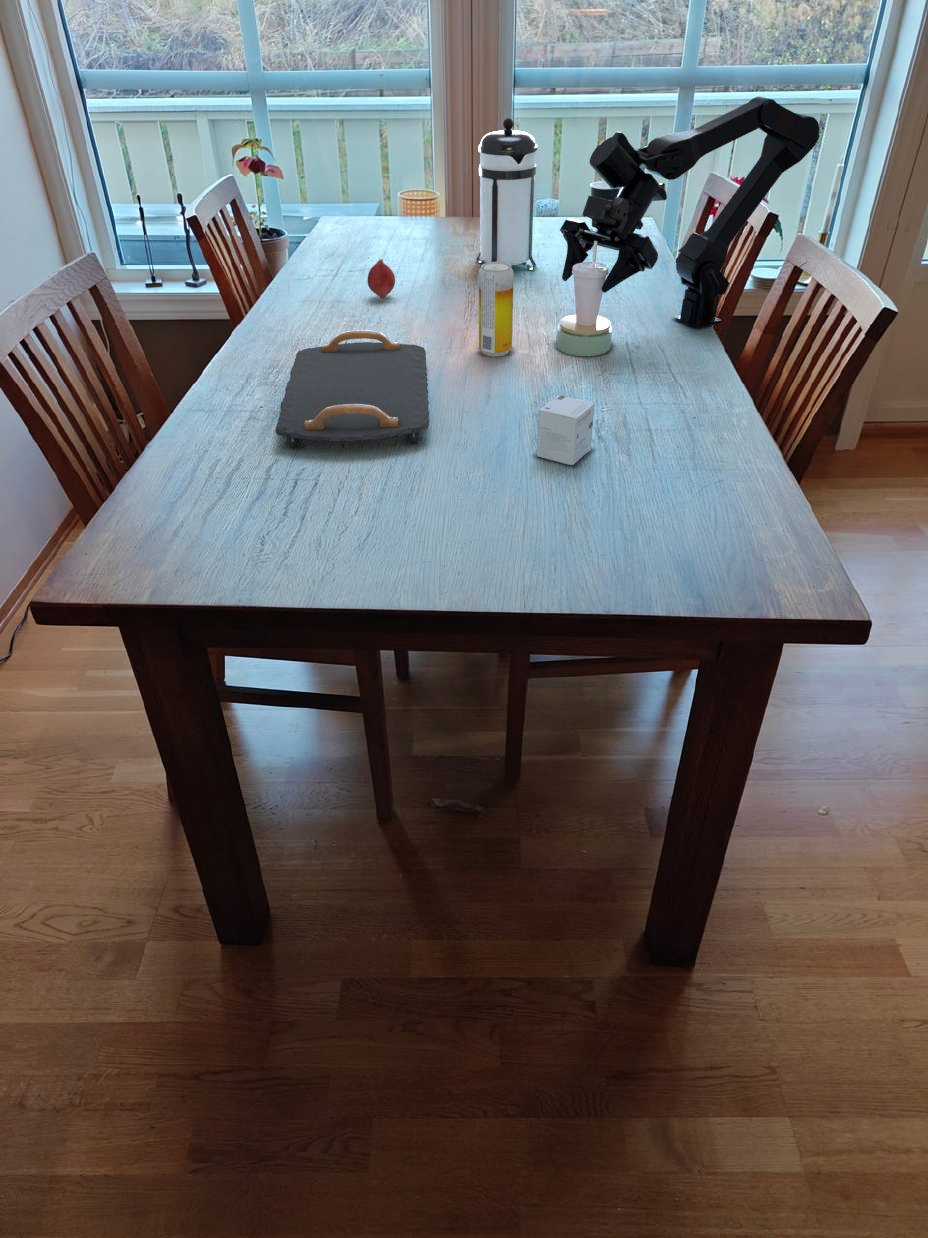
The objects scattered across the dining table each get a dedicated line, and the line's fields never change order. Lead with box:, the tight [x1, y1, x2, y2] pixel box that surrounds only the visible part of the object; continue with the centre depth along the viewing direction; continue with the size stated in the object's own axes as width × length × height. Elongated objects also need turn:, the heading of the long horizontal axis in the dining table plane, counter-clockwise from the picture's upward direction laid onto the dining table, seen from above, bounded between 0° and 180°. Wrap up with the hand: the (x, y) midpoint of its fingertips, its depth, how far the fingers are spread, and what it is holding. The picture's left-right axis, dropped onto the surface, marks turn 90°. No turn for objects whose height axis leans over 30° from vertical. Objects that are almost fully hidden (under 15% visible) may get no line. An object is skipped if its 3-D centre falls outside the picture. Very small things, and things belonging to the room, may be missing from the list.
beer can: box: [478, 262, 515, 357], centre depth 149 cm, size 6×6×15 cm
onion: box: [367, 258, 396, 299], centre depth 176 cm, size 6×6×8 cm
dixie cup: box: [589, 180, 621, 233], centre depth 217 cm, size 8×8×11 cm
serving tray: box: [275, 329, 430, 449], centre depth 135 cm, size 39×23×6 cm, turn 3°
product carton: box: [536, 394, 595, 466], centre depth 120 cm, size 6×6×7 cm
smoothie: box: [572, 241, 609, 326], centre depth 148 cm, size 6×6×14 cm
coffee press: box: [475, 117, 539, 271], centre depth 188 cm, size 17×16×30 cm
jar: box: [555, 314, 613, 357], centre depth 154 cm, size 10×10×4 cm
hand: (582, 285), depth 148 cm, fingers open, 9 cm apart
